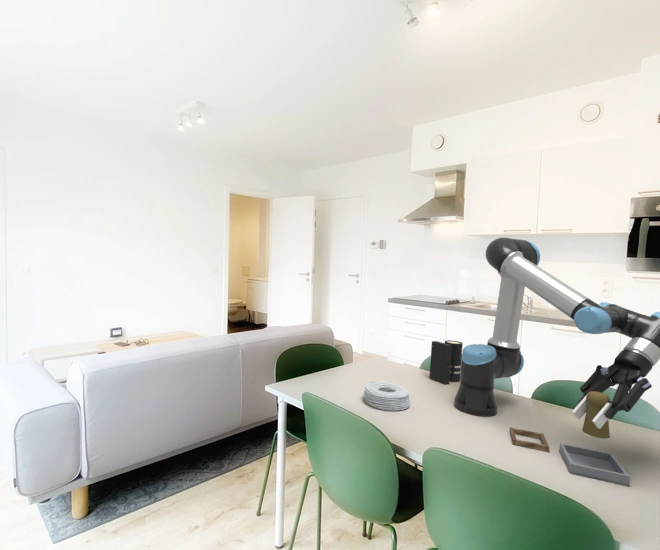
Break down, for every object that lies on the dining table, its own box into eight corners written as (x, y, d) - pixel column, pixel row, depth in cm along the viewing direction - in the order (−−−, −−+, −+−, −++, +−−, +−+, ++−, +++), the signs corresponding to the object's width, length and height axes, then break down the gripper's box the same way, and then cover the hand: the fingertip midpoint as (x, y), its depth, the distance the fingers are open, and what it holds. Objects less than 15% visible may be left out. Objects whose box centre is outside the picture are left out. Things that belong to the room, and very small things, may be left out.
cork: (576, 428, 100) (579, 388, 100) (597, 428, 101) (599, 389, 101) (594, 438, 94) (597, 396, 94) (615, 438, 95) (618, 397, 95)
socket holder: (512, 444, 109) (512, 439, 109) (509, 431, 118) (509, 427, 118) (548, 452, 106) (549, 447, 106) (542, 438, 114) (543, 433, 114)
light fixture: (465, 381, 170) (467, 343, 170) (445, 385, 163) (448, 345, 163) (448, 375, 179) (450, 339, 178) (428, 378, 171) (431, 341, 171)
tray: (570, 473, 95) (570, 463, 95) (559, 451, 106) (559, 442, 106) (629, 486, 90) (630, 476, 90) (611, 462, 102) (611, 453, 102)
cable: (365, 392, 148) (366, 377, 148) (409, 398, 144) (410, 383, 144) (360, 408, 131) (361, 391, 131) (410, 415, 127) (411, 398, 127)
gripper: (682, 377, 92) (627, 446, 89) (611, 359, 110) (563, 415, 106) (668, 357, 91) (612, 425, 87) (598, 341, 108) (549, 398, 105)
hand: (585, 420), depth 97 cm, fingers closed on cork, 5 cm apart
